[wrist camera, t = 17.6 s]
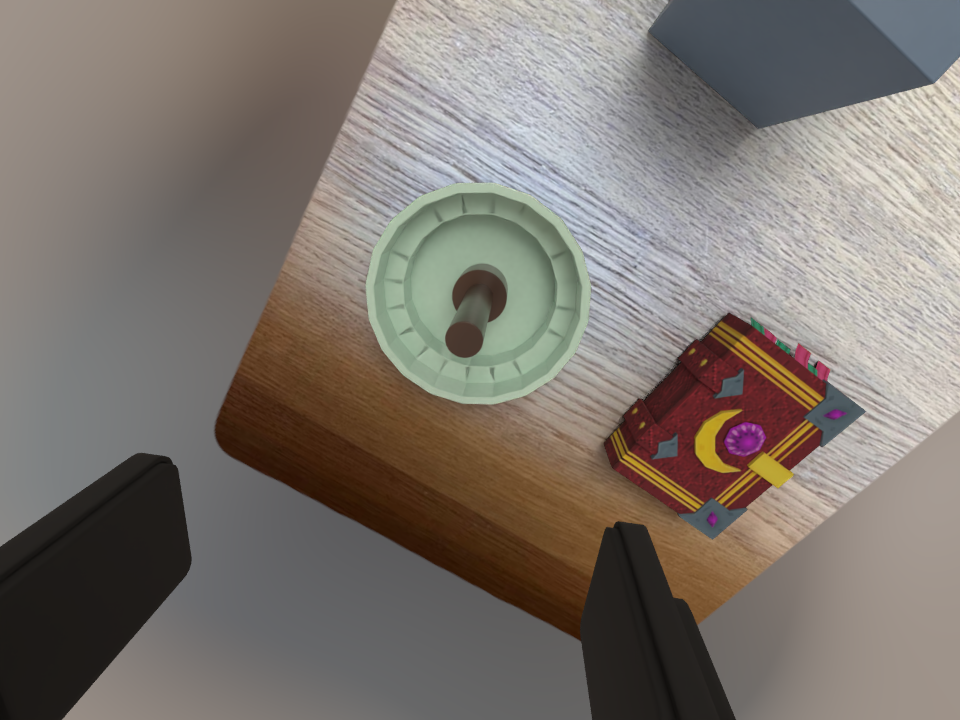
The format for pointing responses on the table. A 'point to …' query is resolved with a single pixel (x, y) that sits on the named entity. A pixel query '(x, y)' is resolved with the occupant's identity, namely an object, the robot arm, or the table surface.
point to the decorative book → (728, 424)
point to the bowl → (438, 265)
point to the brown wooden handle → (475, 308)
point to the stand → (810, 50)
